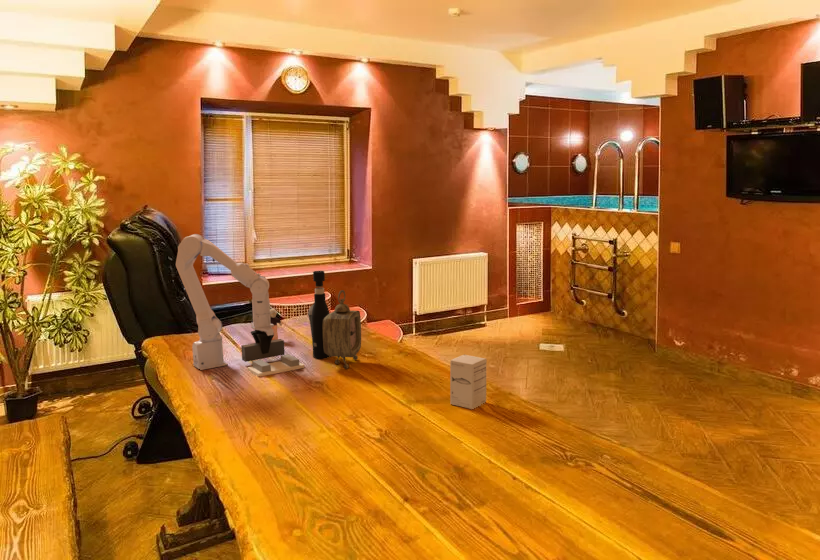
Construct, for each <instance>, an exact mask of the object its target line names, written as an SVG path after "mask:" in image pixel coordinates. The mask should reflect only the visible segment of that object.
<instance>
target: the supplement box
mask: <svg viewBox="0 0 820 560" xmlns="http://www.w3.org/2000/svg"><path fill="white" fill-rule="evenodd" d="M487 360H488V359H487V358H483V357H479V356H474V355H470V354H469V355H468V354H462V355H459V356H457V357H455V358H452V359H450V362H449V363H450V372H449V373H450V375H449V376H450V378H449V380H450V387H449V388H450V392H449V393H450V394H449V395H450V397H449V398H450V400H449V401H450V405H451V404H452V405H453V406H457V407H461V408H465V409H469V410H472V409H473V410H474V408H475V409H477V408H479V407H481V406H482V405H484V404H486V403H487ZM485 402H486V403H485ZM483 403H484V404H483ZM481 404H482V405H481ZM478 406H479V407H478ZM476 407H477V408H476Z"/></svg>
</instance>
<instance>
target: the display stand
mask: <svg viewBox="0 0 820 560" xmlns="http://www.w3.org/2000/svg"><path fill="white" fill-rule="evenodd" d="M304 368H305V364H304V363H302V362H300V359H299V358H298V357H296V356H293V355H291V354H285V355H280V360H279V361H273V362H269V363H268V362H267V361H264V360H263V359H258V360H253V361H251V366H248V367H247V371H248V372H249V371H250V373H251V374H253V375H254V374H255V376H256V375H257V376H256V377H258V376H260V377H264V376H265V377H266V376H270V375H275V374H279V373H284V372H285V373H286V372H289V371H294V370H299V369H304Z"/></svg>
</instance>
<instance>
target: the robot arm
mask: <svg viewBox="0 0 820 560" xmlns="http://www.w3.org/2000/svg"><path fill="white" fill-rule="evenodd" d="M198 256H200V257H210V258H212V259H213V260H215V261H216V262H218V263H219V264H221V265H222V266H224V267H225V268H226V269H228V270H229V271H230V273H231V277H232V278H234V279H235V280H237V281H238V282H239V283H241V285H243V286H245V287H246V288H249V291H250V292H251V295H252V296H251V297H252V299H251V303H252V305H251V306H252V321H251V322H250V326H251V329H253V330H251V331H250V334H251V336H252V338H253V339H254V343H258V342H260V346H261V351H262V354H266V353H269V349H270V344H271V340H272V338H273V336H274V331H273V329H272V327H274V324H271V322H270V318H271V317H270V309H271V304H270V301H271V300H270V298H269V297H270V293H269V288H270V282H269V280H268V278H266V277H265V276H263V275H261V273H259V272H258V273H257V272H256V271H255V270H254V269H252V268H251V267H250V264H249V263H245V262H236V261H235V260H234V259H233V258H232V257H230V255H228V254H227V253H225V252H224V251H223V250H222V249H221V248H220V247H218V246H217V245H215V244H214V243H213V242H211V241H210V240H209V239H207V238H205V237H203V235H201V234H198V233H194V234H190V235H189V236H185V237H183V239H182V240H181V242H180V243H179V244H178V246H177V255H176V260H175V268H176V269H177V272H178V274H179V277H180V279H181V282H182V284H183V287H184V289H185V292H186V294H187V296H188V299H189V301H190V303H191V306H192V308H193V311H194V313H195V316H196V324H197V326H198V328H197V329H198V330H197V334H198V336H199V340H197V341H194V342H192V346H191V347H192V361H193V363H192V366H194V367H195V368H196V369H198V370H199V369H200V370H199V371H203V370H209V369H215V368H219V367H224V366H228V365H229V363H228V362H226V361H224V360H225V358H224V348H223V347H224V345H223V336H222V335H221V333H220V332H221V331H222V329H223V322H222V321H221V320H220V319H219V318H218V317H217V316H216V314H215V312H214V310H213V309H212V308H211V306H210V304H209V301H208V299H207V297H206V294H205V291H204V289H203V287H202V285H201V282H200V279H199V277H198V275H197V272H196V269H195V268H194V267H195V266H194V264H195V261H197V258H198Z"/></svg>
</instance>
